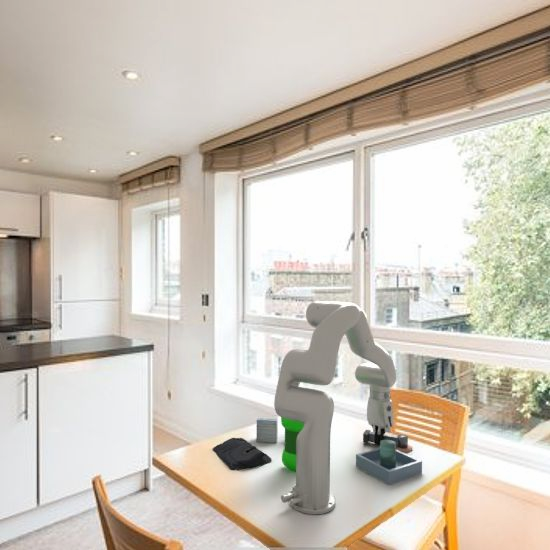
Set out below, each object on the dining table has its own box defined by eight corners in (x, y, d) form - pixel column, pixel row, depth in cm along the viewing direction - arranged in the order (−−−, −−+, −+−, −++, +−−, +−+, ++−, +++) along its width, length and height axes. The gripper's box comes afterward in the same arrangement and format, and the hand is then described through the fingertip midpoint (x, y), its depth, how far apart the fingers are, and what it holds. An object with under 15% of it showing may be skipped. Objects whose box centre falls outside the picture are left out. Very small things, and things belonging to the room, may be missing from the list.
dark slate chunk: (247, 442, 164) (247, 430, 164) (274, 464, 145) (274, 450, 145) (209, 449, 157) (209, 437, 157) (233, 474, 137) (233, 459, 137)
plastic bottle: (292, 478, 133) (292, 399, 134) (275, 466, 142) (275, 391, 143) (317, 471, 139) (318, 395, 139) (299, 459, 148) (300, 387, 148)
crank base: (403, 453, 153) (403, 452, 153) (388, 447, 159) (388, 445, 159) (416, 449, 157) (416, 448, 157) (401, 443, 163) (401, 441, 163)
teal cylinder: (387, 471, 137) (387, 446, 137) (377, 465, 141) (377, 441, 141) (399, 468, 139) (399, 443, 140) (388, 462, 144) (388, 438, 144)
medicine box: (277, 439, 167) (277, 416, 167) (276, 443, 162) (276, 420, 162) (257, 438, 167) (258, 416, 167) (256, 442, 163) (256, 419, 163)
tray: (389, 484, 130) (389, 471, 130) (355, 466, 143) (355, 454, 143) (422, 473, 138) (422, 461, 138) (387, 456, 151) (387, 445, 151)
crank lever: (408, 444, 160) (408, 434, 160) (406, 449, 155) (406, 439, 155) (365, 437, 166) (365, 428, 166) (363, 442, 162) (363, 432, 162)
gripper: (401, 398, 155) (401, 449, 154) (373, 389, 168) (372, 436, 167) (386, 401, 151) (386, 452, 150) (358, 391, 164) (358, 439, 163)
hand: (379, 443), depth 159 cm, fingers closed
